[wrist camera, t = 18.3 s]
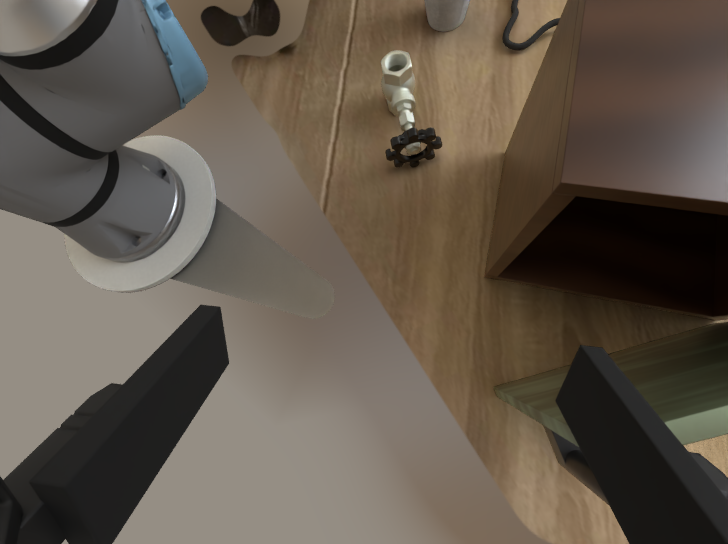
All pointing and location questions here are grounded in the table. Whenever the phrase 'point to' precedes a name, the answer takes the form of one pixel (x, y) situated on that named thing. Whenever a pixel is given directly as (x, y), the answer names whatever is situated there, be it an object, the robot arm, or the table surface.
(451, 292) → the table surface
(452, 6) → the house plant
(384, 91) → the valve
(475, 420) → the table surface
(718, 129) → the cupboard
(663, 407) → the cupboard door
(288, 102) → the table surface
